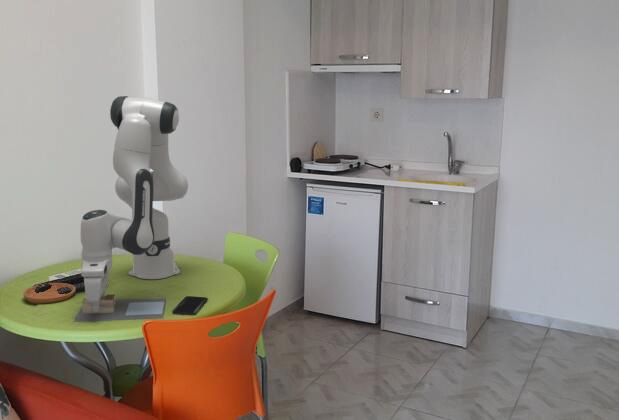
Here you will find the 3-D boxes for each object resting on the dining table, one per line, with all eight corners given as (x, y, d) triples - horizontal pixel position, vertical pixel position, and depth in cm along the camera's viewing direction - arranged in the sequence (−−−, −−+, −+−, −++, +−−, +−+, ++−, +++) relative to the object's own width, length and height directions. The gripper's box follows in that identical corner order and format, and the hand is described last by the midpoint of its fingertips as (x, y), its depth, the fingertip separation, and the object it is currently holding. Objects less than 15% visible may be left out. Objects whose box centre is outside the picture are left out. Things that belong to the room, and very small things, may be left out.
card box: (85, 307, 193) (85, 295, 192) (115, 306, 195) (114, 294, 194) (82, 313, 188) (82, 300, 187) (113, 312, 190) (112, 299, 189)
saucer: (75, 288, 213) (75, 280, 213) (76, 303, 199) (75, 295, 198) (25, 293, 207) (24, 284, 207) (22, 309, 193) (21, 300, 192)
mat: (84, 302, 199) (84, 300, 199) (166, 299, 204) (166, 297, 204) (73, 323, 182) (73, 321, 182) (163, 320, 186) (163, 318, 186)
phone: (208, 297, 205) (195, 313, 190) (208, 300, 205) (195, 316, 191) (185, 295, 206) (170, 311, 191) (185, 299, 206) (170, 315, 191)
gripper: (92, 254, 198) (94, 294, 201) (80, 273, 178) (82, 317, 181) (112, 253, 199) (114, 294, 202) (102, 272, 179) (104, 317, 182)
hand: (99, 305), depth 191 cm, fingers open, 7 cm apart
